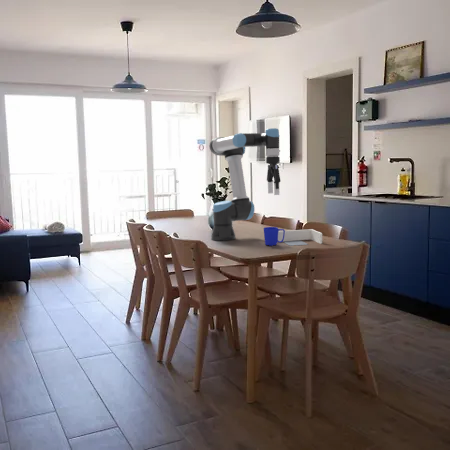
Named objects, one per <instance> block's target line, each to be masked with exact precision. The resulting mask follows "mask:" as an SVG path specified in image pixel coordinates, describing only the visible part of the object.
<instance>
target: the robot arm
mask: <svg viewBox="0 0 450 450" xmlns="http://www.w3.org/2000/svg"><path fill="white" fill-rule="evenodd" d="M208 146H209V151H210V152H211V153H212V154H214V155H215V156H222V157H224V159H225V160H226V161H227V164H228V171H229V178H230V184H231V192H232V199H231V200H223V201H222V200H221V201H218V202H215V203H213V205H212V206H213V207H212V213H213V215H212V216H213V228H212V232H211V240H213V241H220V240H223V241H232V240H235V239H236V233H235V230H234V228H233V227H234V226H233V222H237V221H238V222H239V221H247V220H251V219H252V218H253V217H254V215H255V205H254V202H253V201H251V200H250V197H248V195H247V191H246V184H245V177H244V170H243V164H242V163H243V161H242V159H243V157H244V154H245V152H246V148H247V147H249V148H250V147H251V148H252V147H255V148H256V147H261V148H262V147H265V156H266V158H265V160H266V161H265V162H266V163H265V164H267V173H266V174H267V175H266V181H267V193H268V194H274V196H280V182H281V176H280V170H279V165H278V164H280V161H281V160H280V152H281V150H280V130H279V129H278V128H277V127H276V128H275V127H274V128H266V130H265V132H259V133H256V132H253V133H252V132H251V133H242V132H240V133H235V134H234V135H230V136H218V137H214V138H212V139H211V141H210V142H209V145H208ZM273 186H274V187H273Z"/></svg>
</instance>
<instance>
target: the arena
mask: <svg viewBox="0 0 450 450" xmlns="http://www.w3.org/2000/svg"><path fill="white" fill-rule="evenodd" d="M283 232H284V231H283V230H280V231H278V241H282V239H283ZM297 240H301V241H306V240H307V241H308V240H311V241H313V242H316V243H317V244H320V245H321V244H323V233H322V232H320V231H317V230H315V229H313V228H309V229H292V230H291V229H290V230H285V234H284V240H283V241H297Z"/></svg>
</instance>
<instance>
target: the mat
mask: <svg viewBox="0 0 450 450" xmlns="http://www.w3.org/2000/svg"><path fill="white" fill-rule="evenodd" d="M281 243H284V244H285V245H288V246H290V247H294V245H296V246H307V245H309V243H307V242H305V241H304V240H293V241H282V242H281Z"/></svg>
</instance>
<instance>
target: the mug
mask: <svg viewBox="0 0 450 450" xmlns="http://www.w3.org/2000/svg"><path fill="white" fill-rule="evenodd" d="M278 231H284V232H283V239H282V241H283V240H284V234H285V231H286V230H285V229H284V228H278V227H277V226H266V227H263V235H264V244H265V245H266V246H267V245H269V246H268V247H272V246H273V245H274V246H277V244H278V243H283V242H282V241H278Z"/></svg>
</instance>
